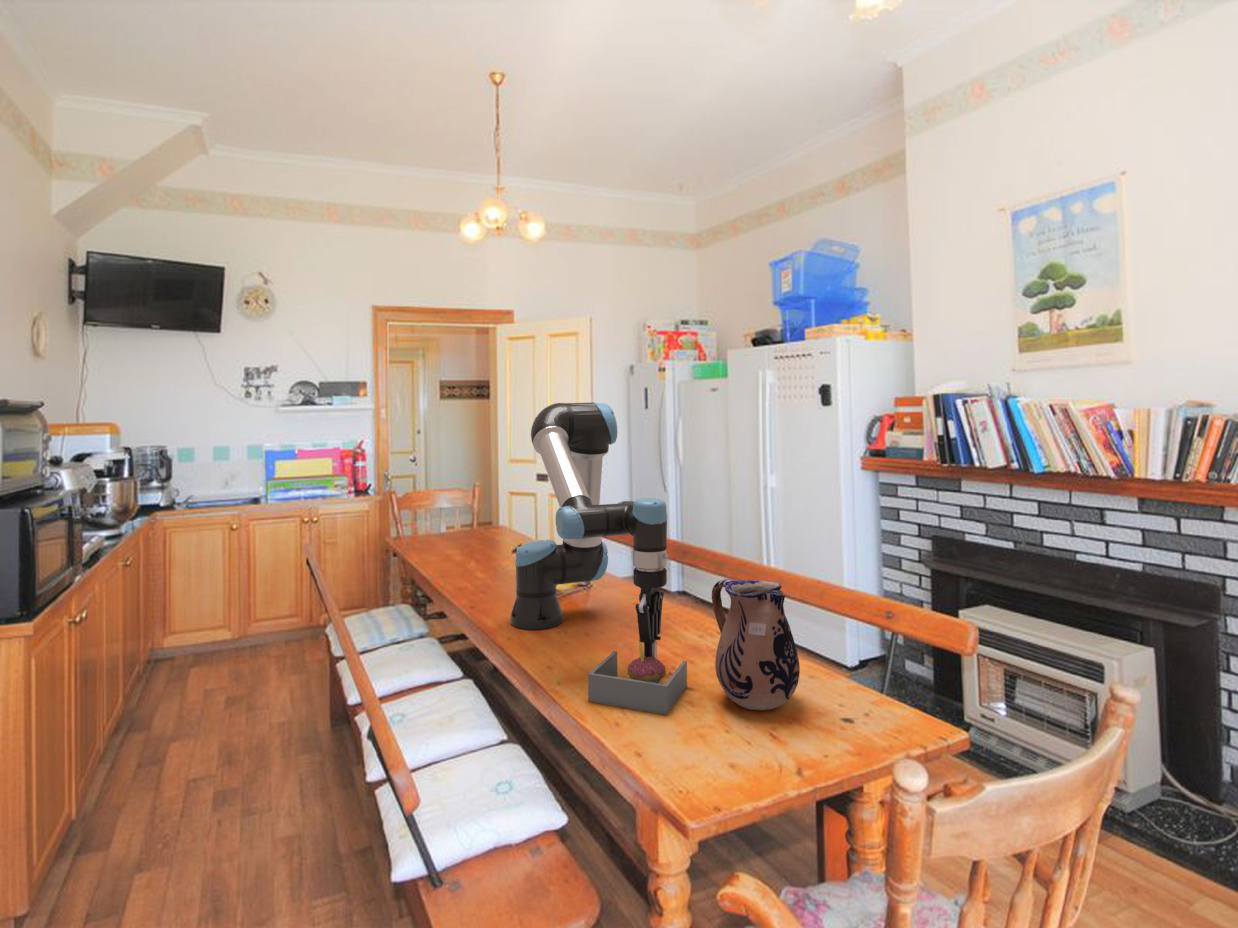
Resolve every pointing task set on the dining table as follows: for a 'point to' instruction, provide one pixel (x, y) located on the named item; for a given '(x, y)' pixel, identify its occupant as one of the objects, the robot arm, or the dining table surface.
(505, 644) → the dining table surface
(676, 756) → the dining table surface
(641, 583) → the robot arm
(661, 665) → the cupcake
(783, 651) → the ceramic pitcher
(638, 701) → the box
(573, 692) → the dining table surface
